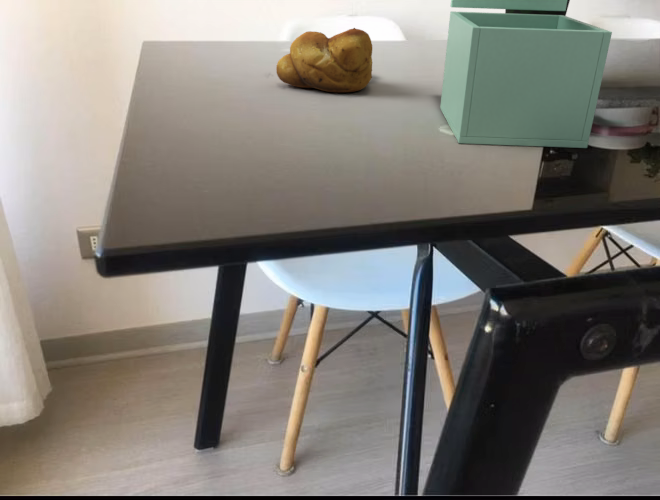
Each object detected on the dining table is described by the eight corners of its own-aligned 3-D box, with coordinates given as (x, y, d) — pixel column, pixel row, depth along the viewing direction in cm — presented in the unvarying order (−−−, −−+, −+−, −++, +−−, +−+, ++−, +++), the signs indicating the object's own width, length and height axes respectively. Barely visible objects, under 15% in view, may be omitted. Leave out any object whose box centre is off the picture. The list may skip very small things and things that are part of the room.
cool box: (587, 148, 61) (612, 31, 56) (458, 143, 61) (472, 27, 56) (546, 112, 74) (563, 15, 69) (440, 108, 74) (450, 11, 69)
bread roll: (266, 89, 80) (265, 23, 77) (292, 76, 89) (293, 16, 85) (363, 99, 77) (367, 30, 74) (381, 84, 85) (385, 22, 82)
